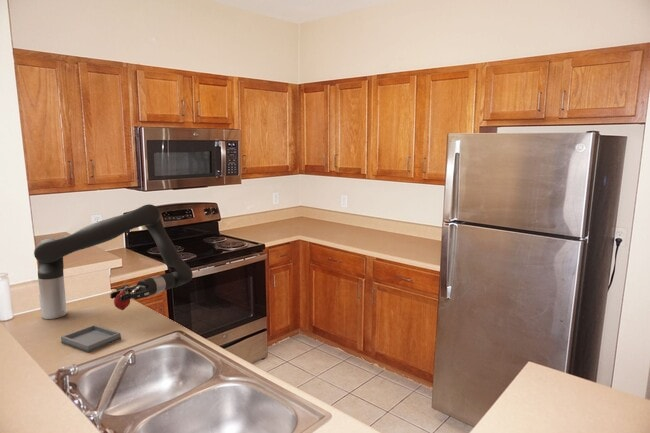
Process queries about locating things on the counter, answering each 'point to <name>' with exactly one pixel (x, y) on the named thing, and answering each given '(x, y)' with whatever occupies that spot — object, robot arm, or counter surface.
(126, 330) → the counter surface
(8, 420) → the counter surface
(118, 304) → the onion
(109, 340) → the tray
